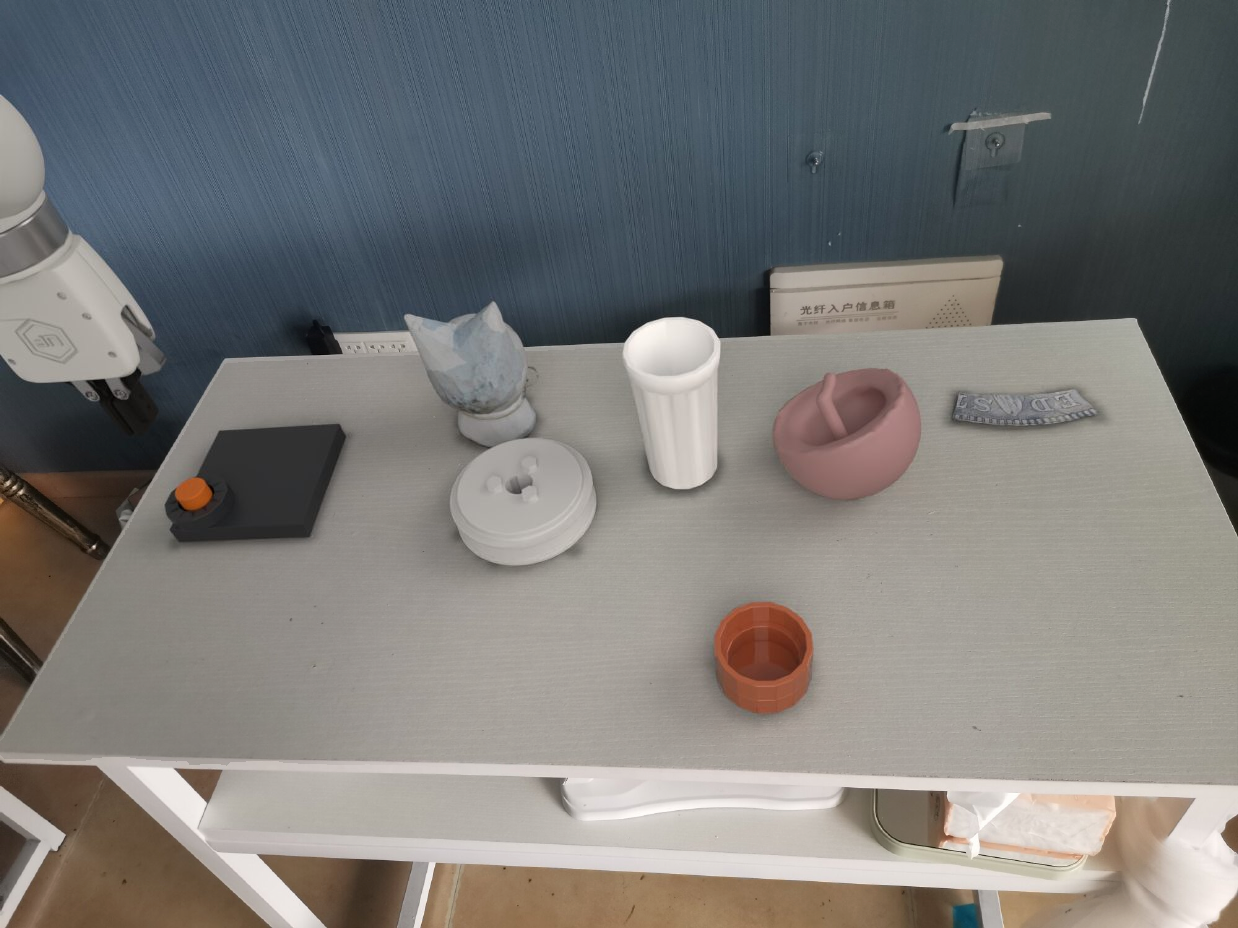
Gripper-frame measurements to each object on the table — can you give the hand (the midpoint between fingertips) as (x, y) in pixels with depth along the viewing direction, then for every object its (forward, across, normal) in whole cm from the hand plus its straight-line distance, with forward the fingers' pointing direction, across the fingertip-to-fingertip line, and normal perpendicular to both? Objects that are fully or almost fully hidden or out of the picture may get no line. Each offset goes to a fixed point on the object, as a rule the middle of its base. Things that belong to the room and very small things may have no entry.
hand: (142, 423), depth 75 cm
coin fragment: (+13, +76, +9) cm, 78 cm away
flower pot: (+13, +51, -18) cm, 55 cm away
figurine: (+13, +26, +12) cm, 32 cm away
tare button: (+10, 0, 0) cm, 10 cm away
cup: (+13, +45, +4) cm, 47 cm away
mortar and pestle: (+13, +59, +2) cm, 61 cm away
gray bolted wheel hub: (+13, +31, -1) cm, 34 cm away
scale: (+13, +4, +4) cm, 14 cm away
